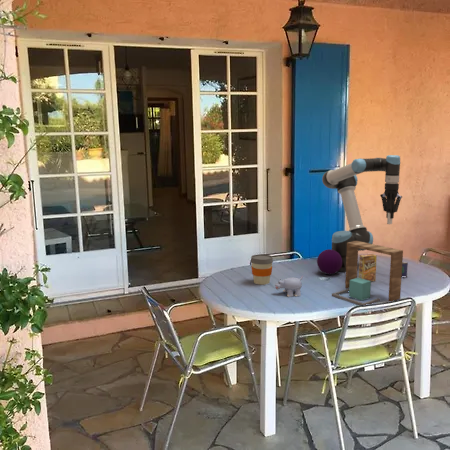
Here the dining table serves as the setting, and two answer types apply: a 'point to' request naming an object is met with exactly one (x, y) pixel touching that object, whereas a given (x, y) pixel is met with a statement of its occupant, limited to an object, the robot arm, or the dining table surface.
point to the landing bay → (351, 299)
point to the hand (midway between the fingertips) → (389, 223)
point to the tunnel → (395, 253)
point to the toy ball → (329, 261)
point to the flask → (404, 268)
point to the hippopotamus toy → (290, 286)
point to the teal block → (359, 288)
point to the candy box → (367, 267)
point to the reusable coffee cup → (261, 268)
